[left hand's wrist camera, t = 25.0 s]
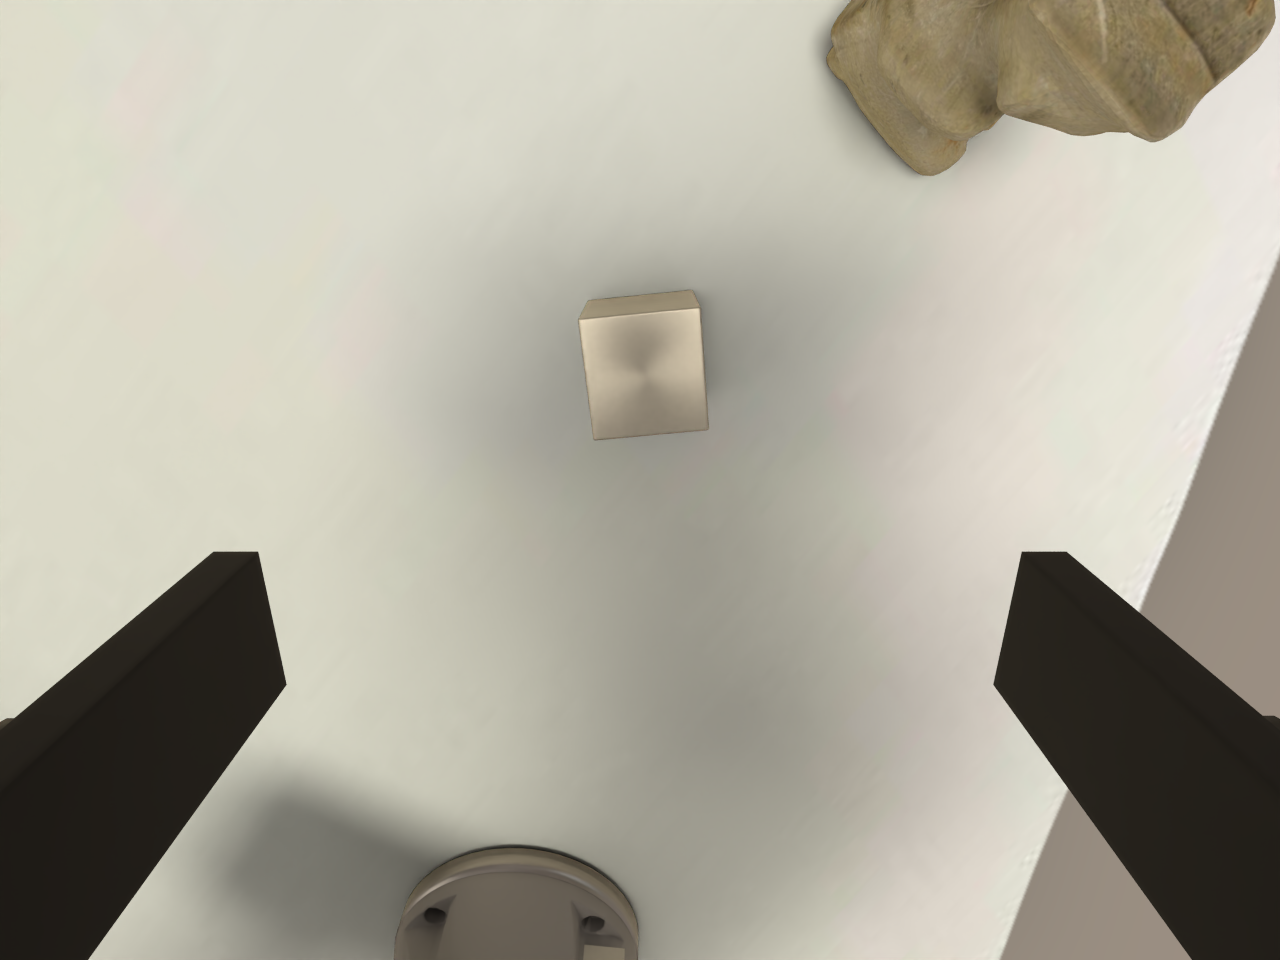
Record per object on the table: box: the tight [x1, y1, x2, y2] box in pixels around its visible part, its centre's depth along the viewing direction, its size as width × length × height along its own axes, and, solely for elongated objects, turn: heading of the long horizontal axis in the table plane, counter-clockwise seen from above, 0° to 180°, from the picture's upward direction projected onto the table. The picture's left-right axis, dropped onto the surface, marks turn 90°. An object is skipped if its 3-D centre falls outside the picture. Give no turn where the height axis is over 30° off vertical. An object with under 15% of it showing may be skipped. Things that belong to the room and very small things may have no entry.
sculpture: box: [827, 0, 1275, 176], centre depth 22 cm, size 6×7×15 cm
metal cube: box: [578, 290, 709, 440], centre depth 31 cm, size 5×5×5 cm
